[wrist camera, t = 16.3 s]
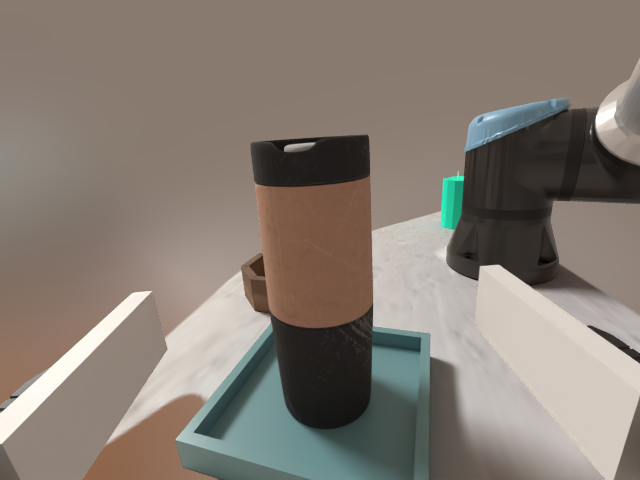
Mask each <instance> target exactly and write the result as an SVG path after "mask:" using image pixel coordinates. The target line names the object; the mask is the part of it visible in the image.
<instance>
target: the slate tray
mask: <svg viewBox="0 0 640 480" xmlns="http://www.w3.org/2000/svg"><path fill="white" fill-rule="evenodd" d="M429 405H430V334H429V333H421V332H413V331H405V330H397V329H389V328H381V327H373V335H372V381H371V397H370V401H369V404H368V407H367V409H366V410H365V412H364V413H363V414H362V415H361V416H360V417H359V418H358V419H357V420H355V421H354V422H352V423H350V424H348V425H346V426H343V427H339V428H334V429H317V428H312V427H309V426H306V425H304V424H302V423H300V422H299V421H297V420H296V419H295V418H294V417H293V416H292V415H291V414H290V412H289V411H288V409H287V407H286V404H285V400H284V395H283V390H282V384H281V378H280V372H279V366H278V360H277V354H276V347H275V341H274V335H273V329H272V323H271V324H270V325H269V326H268V328H267V329H266V330H265V331H264V333H263V334H262V335H261V336H260V337H259V339H258V340H257V341H256V342H255V343H254V345H253V346H252V347H251V348H250V350H249V351H248V352H247V353H246V354H245V356H244V357H243V358H242V359H241V361H240V362H239V363H238V364H237V365H236V367H235V368H234V369H233V370H232V371H231V373H230V374H229V375H228V376H227V378H226V379H225V380H224V381H223V382H222V384H221V385H220V386H219V387H218V389H217V390H216V391H215V392H214V393H213V395H212V396H211V397H210V398H209V400H208V401H207V402H206V403H205V404H204V406H203V407H202V408H201V409H200V411H199V412H198V413H197V414H196V415H195V417H194V418H193V419H192V420H191V422H190V423H189V424H188V425H187V426H186V428H185V429H184V430H183V431H182V432H181V434H180V435H179V436H178V437H177V439H176V444H177V448H178V452H179V455H180V459H181V463H182V467H183V468H186V469H190V470H193V471H196V472H199V473H202V474H205V475H208V476H212V477H214V478H217V479H221V480H429Z"/></svg>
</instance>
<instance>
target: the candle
mask: <svg viewBox="0 0 640 480" xmlns="http://www.w3.org/2000/svg"><path fill="white" fill-rule="evenodd" d="M458 172H459V171H458ZM463 184H464V176H455V177H451V178H447V179H445V178H443V191H442V192H443V193H442V210H441V226H442V227H444V228H448V229H455V228H456V226H457V223H458V221H459V219H460V216H461V210H462V197H463Z"/></svg>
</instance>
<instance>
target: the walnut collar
mask: <svg viewBox="0 0 640 480" xmlns="http://www.w3.org/2000/svg"><path fill="white" fill-rule="evenodd" d="M241 269H242V276H243V282H244V289H245V296H246V297H247V299H248V300H249V302H250V304H251V305H252V307H253V308H254V310H256V311H262V312H270V310H269V303H268V295H267V286H266V277H265V269H264V260H263V253H260V254H258V255H256V256H255V257H253V258H252V259H250V260H249V261H248V262H246V263H245V264H244V265H242V266H241Z"/></svg>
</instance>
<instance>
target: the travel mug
mask: <svg viewBox="0 0 640 480" xmlns="http://www.w3.org/2000/svg"><path fill="white" fill-rule="evenodd" d="M369 154H370V152H369V136H368V135H349V136H332V137H316V138H302V139H289V140H273V141H261V142H252V143H251V156H252V164H253V173H254V181H255V190H256V199H257V208H258V217H259V225H260V234H261V243H262V251H263V260H264V269H265V277H266V286H267V295H268V303H269V310H270V317H271V323H272V329H273V335H274V341H275V347H276V354H277V360H278V366H279V372H280V378H281V384H282V390H283V395H284V400H285V404H286V407H287V409H288V411H289V412H290V414H291V415H292V416H293V417H294V418H295V419H296V420H297V421H299V422H300V423H302V424H304V425H306V426H309V427H312V428H317V429H334V428H339V427H343V426H346V425H348V424H350V423H352V422H354V421H355V420H357V419H358V418H359V417H360V416H361V415H362V414H363V413H364V412H365V410H366V409H367V407H368V404H369V401H370V397H371V381H372V335H373V273H372V233H371V193H370V155H369Z"/></svg>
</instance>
